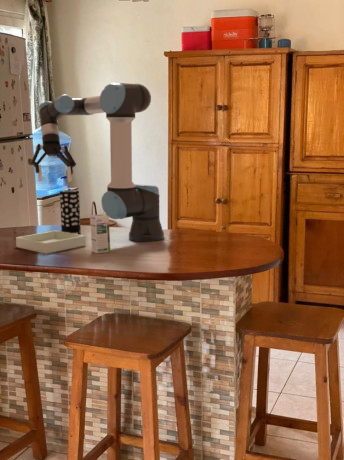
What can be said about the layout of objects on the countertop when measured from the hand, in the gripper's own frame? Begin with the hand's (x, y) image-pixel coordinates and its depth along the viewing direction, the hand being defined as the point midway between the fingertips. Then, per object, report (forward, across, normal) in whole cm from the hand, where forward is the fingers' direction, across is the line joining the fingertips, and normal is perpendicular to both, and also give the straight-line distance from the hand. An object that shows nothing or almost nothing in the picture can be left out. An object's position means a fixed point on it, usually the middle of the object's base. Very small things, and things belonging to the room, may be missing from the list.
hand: (55, 180), depth 282 cm
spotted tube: (+23, -7, -7) cm, 25 cm away
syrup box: (+40, -5, +27) cm, 48 cm away
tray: (+32, +8, +7) cm, 33 cm away
